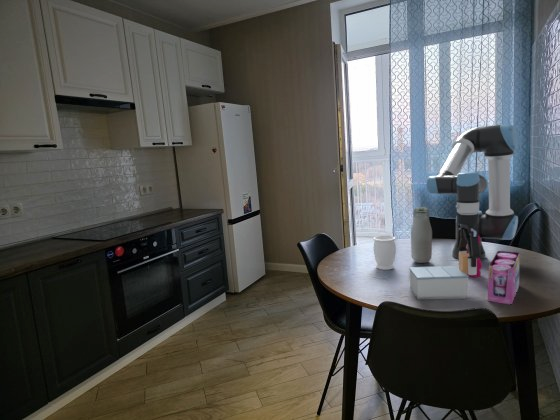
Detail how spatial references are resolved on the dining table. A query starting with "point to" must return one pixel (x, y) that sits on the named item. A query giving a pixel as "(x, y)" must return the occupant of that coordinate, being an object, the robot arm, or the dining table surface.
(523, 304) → the dining table surface
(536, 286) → the dining table surface
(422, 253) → the grey rounded cylinder
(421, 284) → the cabinet body
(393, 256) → the jar
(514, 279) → the gum box
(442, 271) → the lid
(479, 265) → the pepper mill
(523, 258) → the dining table surface
